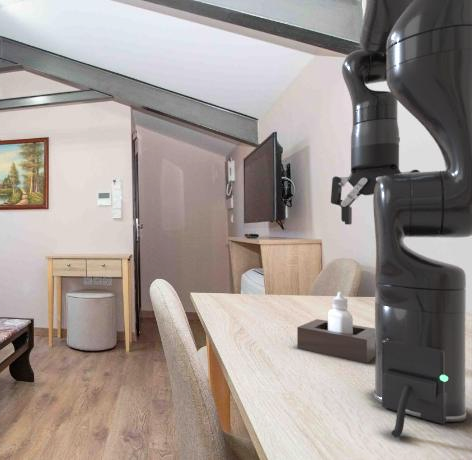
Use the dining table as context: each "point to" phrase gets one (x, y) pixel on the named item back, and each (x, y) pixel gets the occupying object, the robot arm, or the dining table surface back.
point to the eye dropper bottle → (340, 316)
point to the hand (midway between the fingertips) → (374, 224)
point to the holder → (337, 341)
